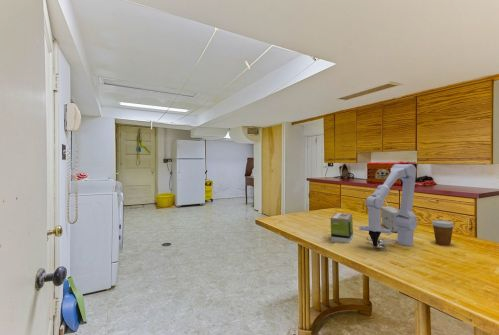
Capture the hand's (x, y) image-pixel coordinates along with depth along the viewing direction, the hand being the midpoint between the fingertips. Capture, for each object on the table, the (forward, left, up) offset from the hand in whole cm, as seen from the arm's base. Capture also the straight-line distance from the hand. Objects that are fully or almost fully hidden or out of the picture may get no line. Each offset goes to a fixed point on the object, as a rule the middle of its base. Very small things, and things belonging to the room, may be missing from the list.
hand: (375, 245), depth 126 cm
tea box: (-9, -18, -3) cm, 20 cm away
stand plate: (-4, +2, -2) cm, 5 cm away
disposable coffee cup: (-29, +30, -3) cm, 42 cm away
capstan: (-2, +2, -1) cm, 3 cm away
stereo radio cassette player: (-50, +5, -3) cm, 50 cm away
